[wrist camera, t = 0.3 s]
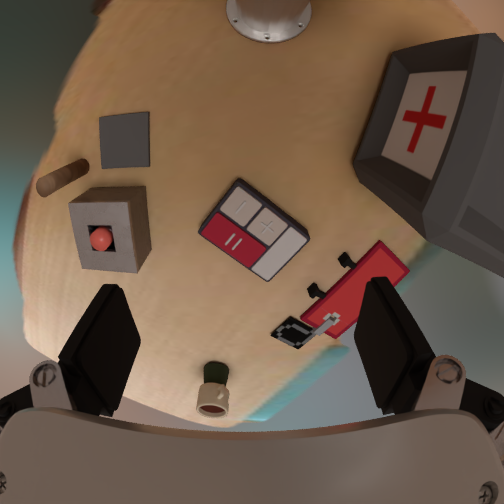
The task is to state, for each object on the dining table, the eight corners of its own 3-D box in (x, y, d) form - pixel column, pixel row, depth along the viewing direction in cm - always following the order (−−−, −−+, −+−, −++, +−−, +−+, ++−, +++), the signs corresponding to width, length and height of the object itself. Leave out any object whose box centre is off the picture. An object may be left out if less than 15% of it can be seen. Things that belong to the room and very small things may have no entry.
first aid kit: (485, 114, 35) (581, 144, 13) (444, 220, 47) (523, 292, 25) (389, 43, 32) (494, 17, 10) (343, 173, 43) (422, 245, 21)
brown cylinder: (75, 159, 41) (34, 178, 31) (88, 158, 41) (48, 176, 31) (77, 175, 43) (38, 197, 32) (90, 174, 43) (51, 196, 32)
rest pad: (100, 117, 38) (99, 117, 37) (149, 111, 38) (148, 112, 38) (103, 168, 42) (101, 168, 42) (150, 165, 42) (148, 166, 42)
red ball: (96, 223, 41) (88, 231, 38) (114, 223, 41) (106, 231, 38) (100, 242, 42) (92, 250, 40) (117, 242, 43) (109, 251, 40)
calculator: (237, 181, 41) (312, 241, 45) (239, 175, 45) (308, 230, 48) (195, 234, 45) (267, 285, 49) (201, 224, 49) (267, 272, 53)
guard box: (91, 187, 44) (68, 203, 37) (145, 186, 44) (127, 202, 37) (101, 246, 50) (82, 268, 43) (151, 249, 50) (137, 273, 43)
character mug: (220, 382, 69) (217, 423, 58) (195, 374, 68) (189, 415, 56) (239, 361, 65) (237, 406, 53) (212, 351, 63) (206, 397, 52)
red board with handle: (263, 328, 60) (311, 353, 64) (264, 338, 57) (313, 361, 62) (366, 226, 48) (407, 267, 53) (372, 233, 46) (413, 274, 51)
